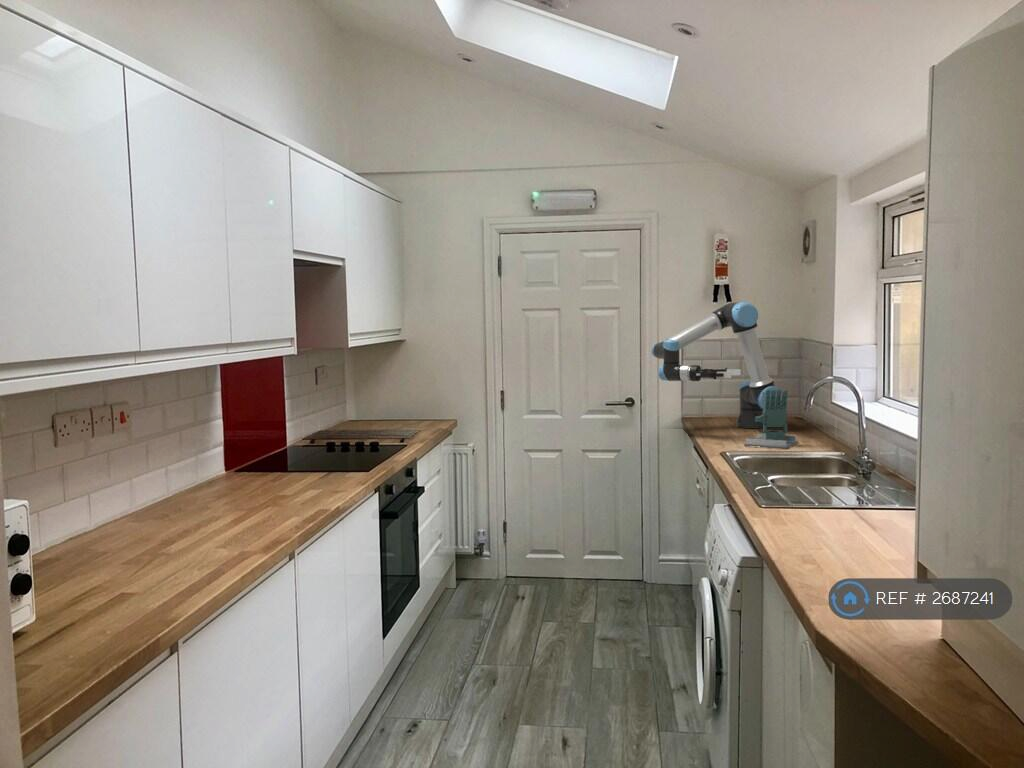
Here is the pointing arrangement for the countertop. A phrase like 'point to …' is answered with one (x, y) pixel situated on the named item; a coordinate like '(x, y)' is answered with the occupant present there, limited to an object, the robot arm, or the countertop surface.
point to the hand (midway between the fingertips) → (736, 373)
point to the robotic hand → (774, 414)
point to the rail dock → (771, 441)
